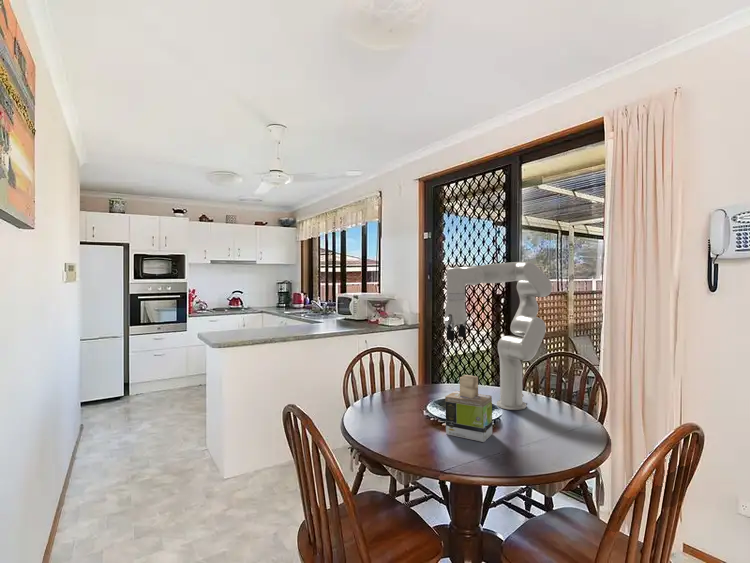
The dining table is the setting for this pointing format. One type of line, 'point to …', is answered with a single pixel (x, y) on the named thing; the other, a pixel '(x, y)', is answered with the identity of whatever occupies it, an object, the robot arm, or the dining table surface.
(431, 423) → the dining table surface
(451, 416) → the tea box
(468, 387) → the maple block
